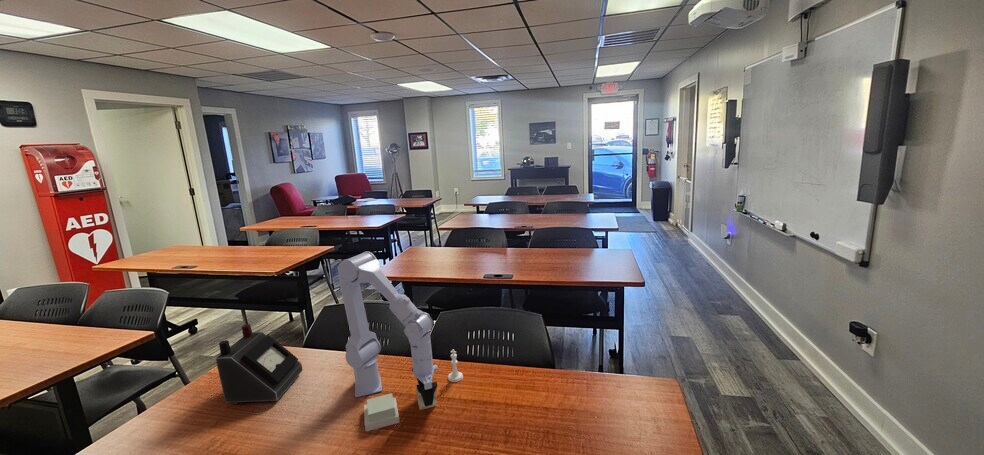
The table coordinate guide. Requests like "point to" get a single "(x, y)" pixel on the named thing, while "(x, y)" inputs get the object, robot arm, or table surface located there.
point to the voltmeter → (255, 368)
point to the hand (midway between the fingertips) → (426, 397)
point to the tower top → (381, 407)
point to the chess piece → (454, 369)
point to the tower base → (381, 422)
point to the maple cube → (421, 402)
